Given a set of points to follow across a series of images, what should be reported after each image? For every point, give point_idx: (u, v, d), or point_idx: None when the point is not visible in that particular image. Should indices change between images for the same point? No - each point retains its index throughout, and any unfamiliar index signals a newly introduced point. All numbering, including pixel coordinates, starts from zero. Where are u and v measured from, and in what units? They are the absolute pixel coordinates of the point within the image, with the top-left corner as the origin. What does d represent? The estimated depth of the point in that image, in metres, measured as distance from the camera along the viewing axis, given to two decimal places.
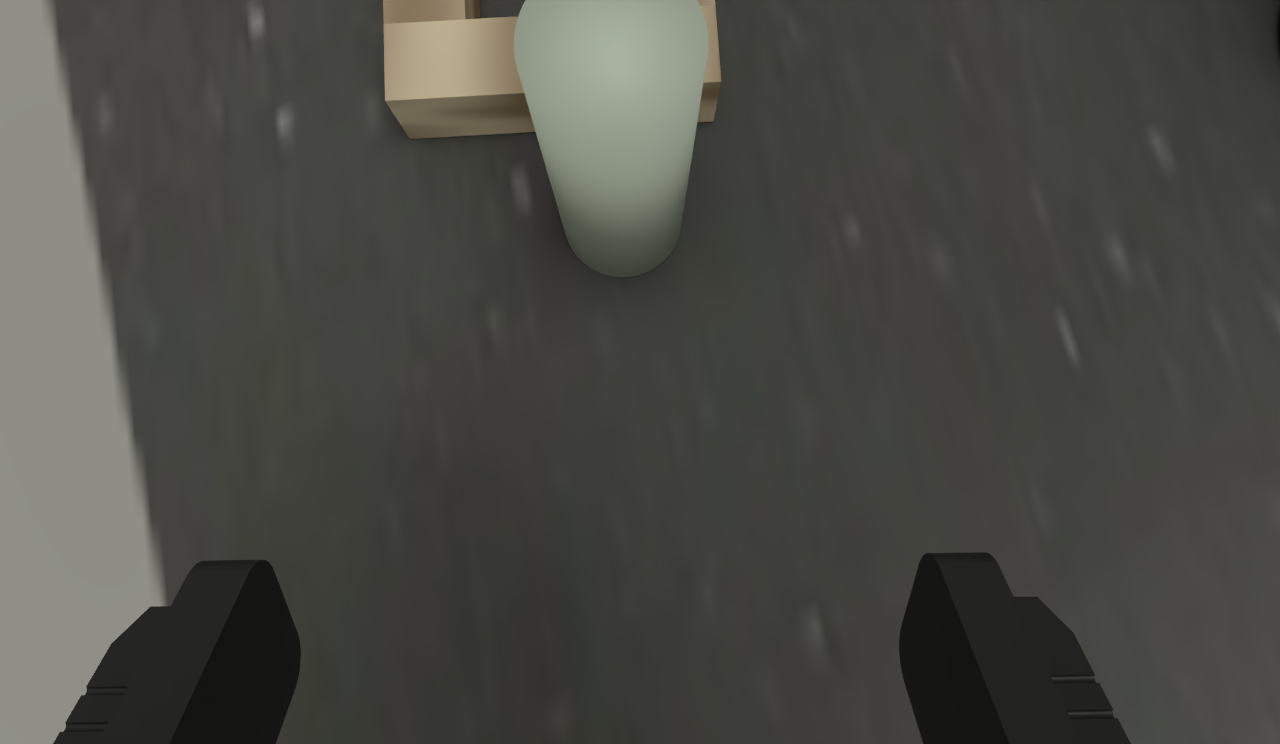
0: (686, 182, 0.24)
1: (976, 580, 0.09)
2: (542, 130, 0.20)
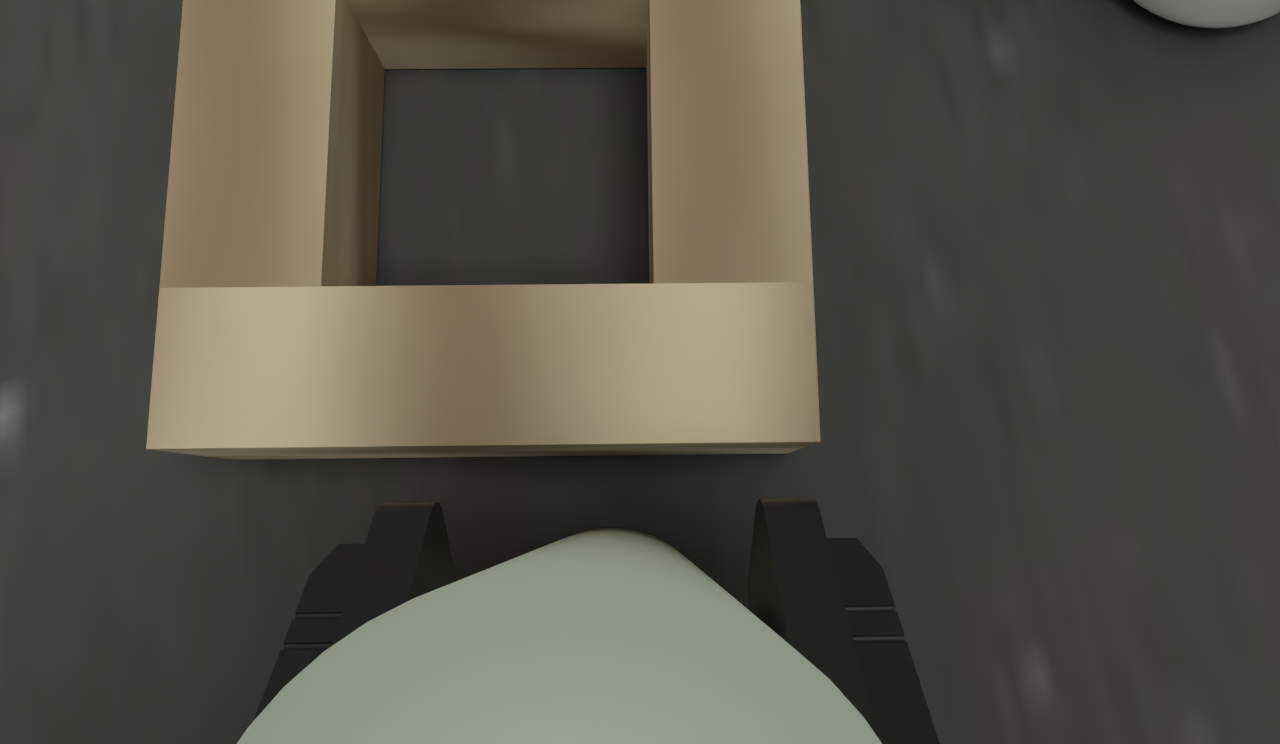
0: None
1: (794, 521, 0.10)
2: None
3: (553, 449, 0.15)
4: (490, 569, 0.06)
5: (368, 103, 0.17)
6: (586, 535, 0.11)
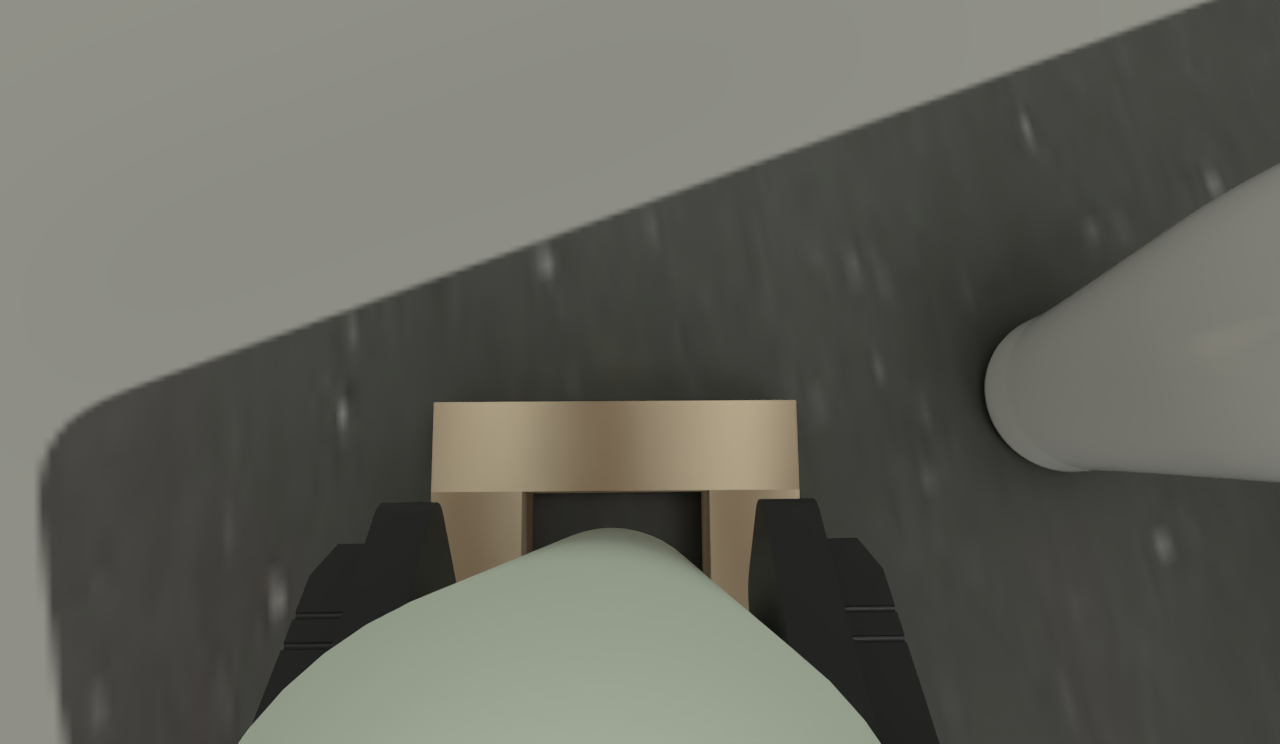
0: None
1: (794, 521, 0.10)
2: None
3: None
4: (490, 571, 0.06)
5: (529, 533, 0.27)
6: (586, 536, 0.11)
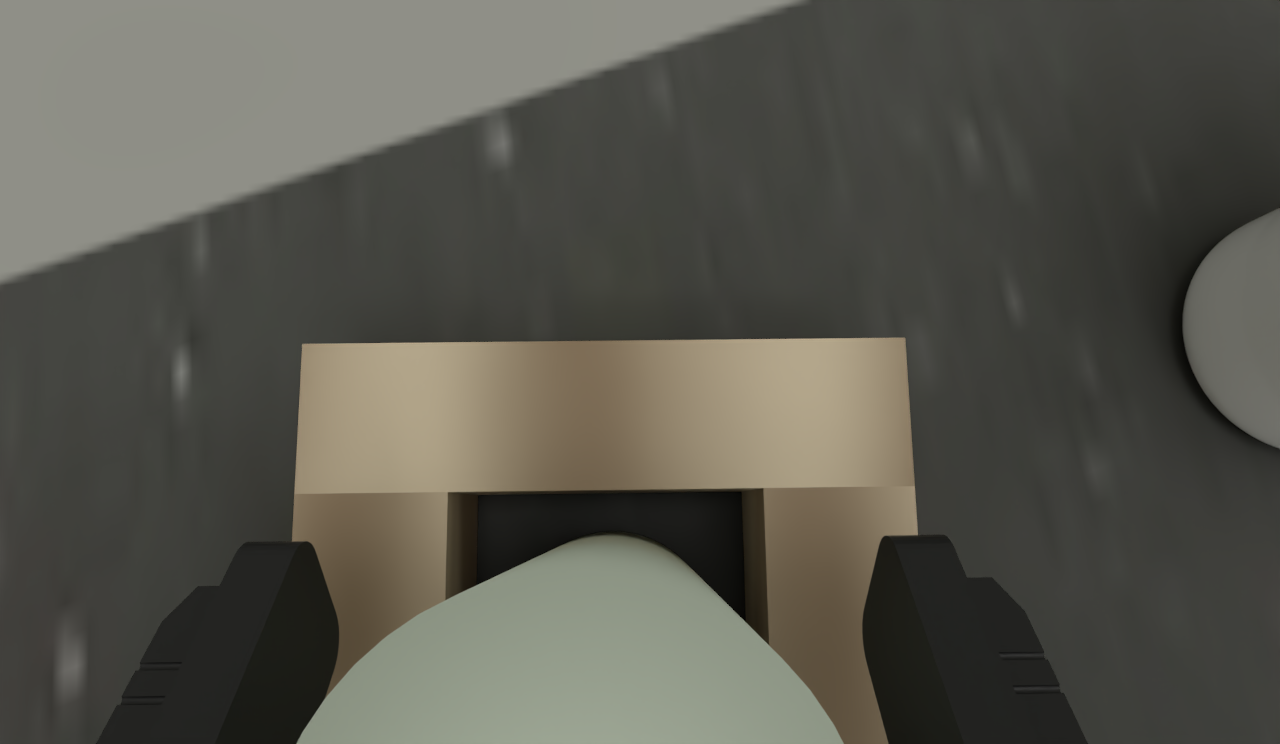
0: None
1: (930, 561, 0.10)
2: None
3: None
4: (512, 572, 0.07)
5: (468, 559, 0.17)
6: (590, 540, 0.13)
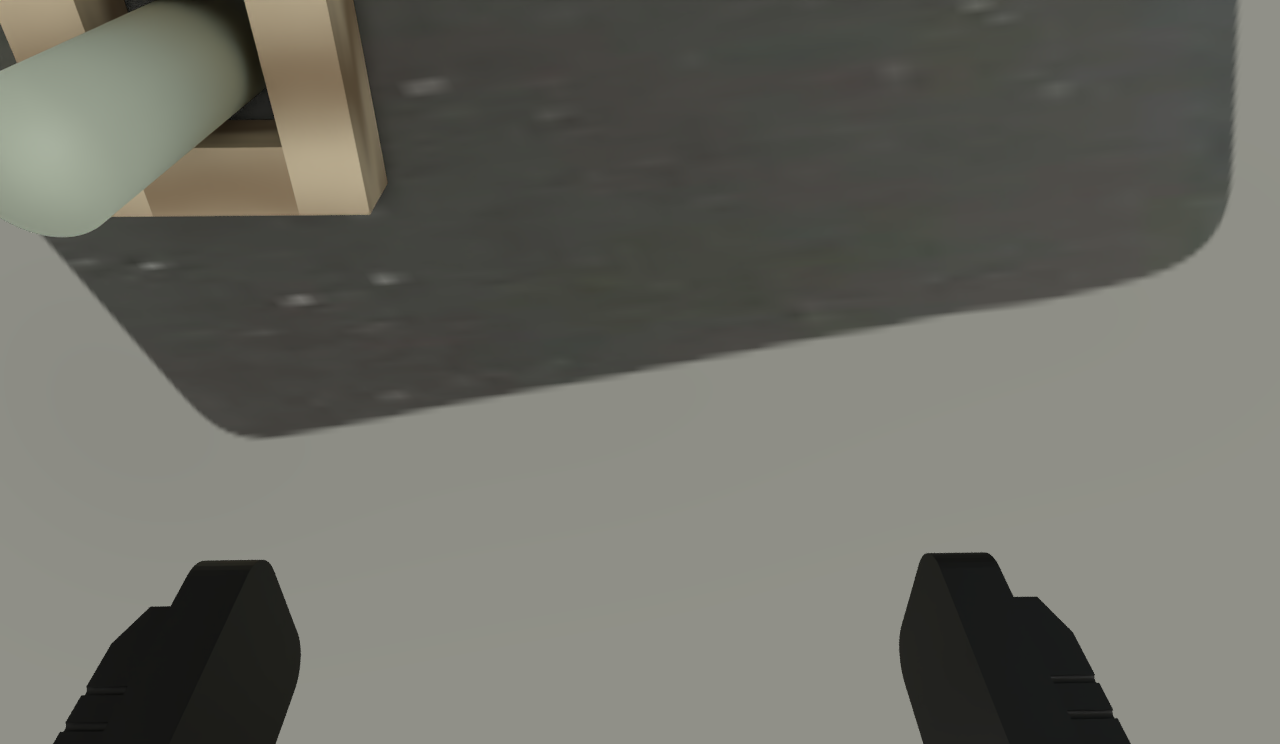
0: (152, 26, 0.26)
1: (976, 580, 0.09)
2: (130, 199, 0.24)
3: (342, 29, 0.30)
4: None
5: None
6: None
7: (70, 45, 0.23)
